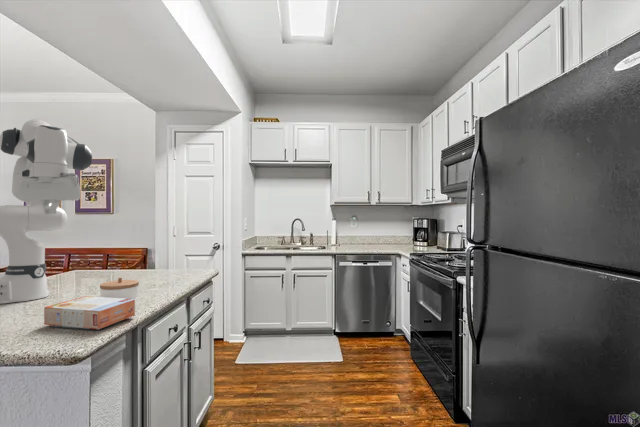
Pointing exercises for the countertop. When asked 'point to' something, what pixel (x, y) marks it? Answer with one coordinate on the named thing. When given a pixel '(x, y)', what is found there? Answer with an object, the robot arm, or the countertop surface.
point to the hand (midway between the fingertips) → (49, 213)
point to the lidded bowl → (120, 289)
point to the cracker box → (89, 312)
